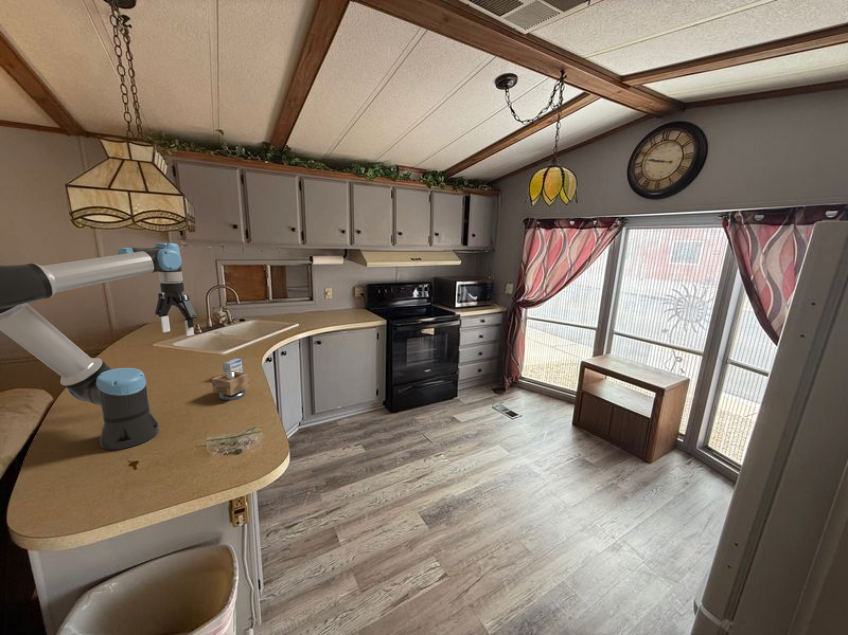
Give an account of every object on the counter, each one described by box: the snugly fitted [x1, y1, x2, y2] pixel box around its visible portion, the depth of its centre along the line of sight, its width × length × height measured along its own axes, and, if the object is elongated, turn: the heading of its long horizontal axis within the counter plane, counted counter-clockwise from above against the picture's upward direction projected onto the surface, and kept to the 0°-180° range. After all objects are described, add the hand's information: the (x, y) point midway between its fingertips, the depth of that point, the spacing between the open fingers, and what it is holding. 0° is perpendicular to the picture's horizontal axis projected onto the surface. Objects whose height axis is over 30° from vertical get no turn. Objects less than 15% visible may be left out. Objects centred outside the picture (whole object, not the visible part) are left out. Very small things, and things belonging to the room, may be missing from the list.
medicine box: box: [222, 358, 244, 375], centre depth 165 cm, size 8×4×9 cm, turn 168°
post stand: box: [218, 371, 246, 402], centre depth 145 cm, size 10×10×11 cm
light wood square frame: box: [211, 371, 251, 396], centre depth 145 cm, size 10×10×6 cm
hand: (178, 333), depth 137 cm, fingers open, 13 cm apart
